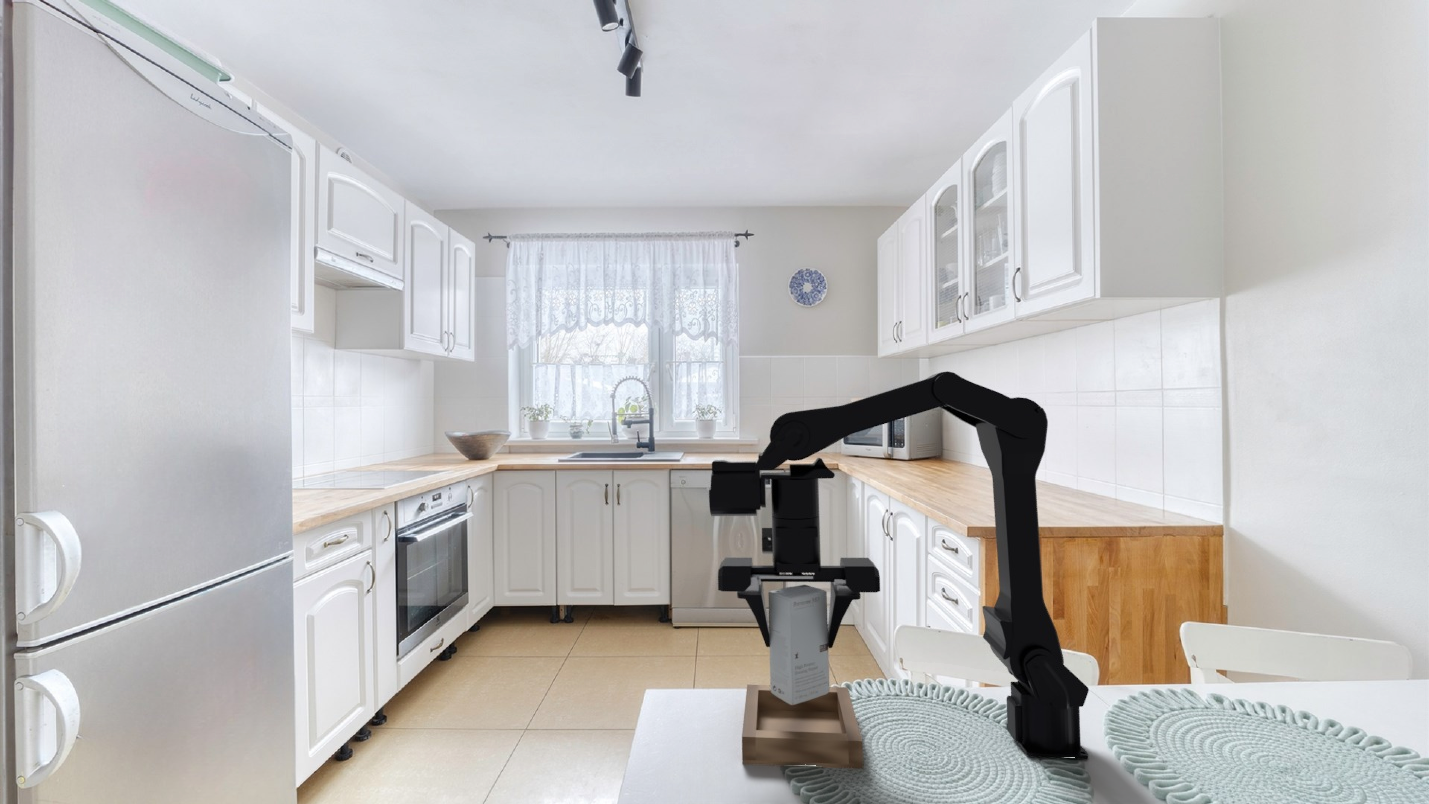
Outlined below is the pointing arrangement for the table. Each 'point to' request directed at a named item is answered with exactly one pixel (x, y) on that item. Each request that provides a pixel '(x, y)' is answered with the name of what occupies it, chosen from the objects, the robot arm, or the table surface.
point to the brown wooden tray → (801, 730)
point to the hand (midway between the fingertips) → (798, 646)
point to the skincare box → (798, 643)
